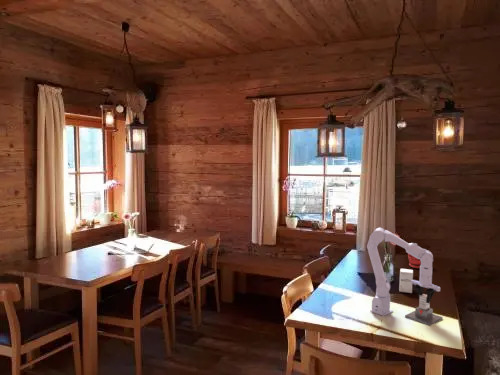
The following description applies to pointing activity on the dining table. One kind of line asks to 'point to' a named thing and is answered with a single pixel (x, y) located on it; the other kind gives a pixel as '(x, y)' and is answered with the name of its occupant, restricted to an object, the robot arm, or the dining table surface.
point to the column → (423, 302)
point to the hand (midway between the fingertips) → (424, 301)
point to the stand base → (424, 316)
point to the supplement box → (405, 280)
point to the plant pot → (414, 261)
